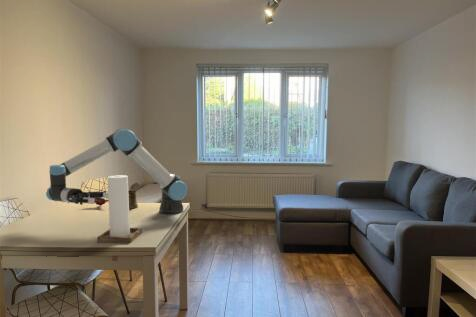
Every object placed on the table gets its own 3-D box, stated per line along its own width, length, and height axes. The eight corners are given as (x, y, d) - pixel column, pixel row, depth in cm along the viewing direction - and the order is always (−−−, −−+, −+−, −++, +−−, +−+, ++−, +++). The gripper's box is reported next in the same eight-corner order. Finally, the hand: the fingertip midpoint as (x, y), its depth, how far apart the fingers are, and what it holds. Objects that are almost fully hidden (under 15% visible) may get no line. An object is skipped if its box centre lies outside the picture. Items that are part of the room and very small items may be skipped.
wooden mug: (130, 211, 236) (129, 183, 234) (121, 207, 246) (120, 181, 244) (143, 208, 242) (142, 181, 240) (133, 205, 252) (133, 179, 250)
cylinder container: (119, 239, 175) (116, 177, 173) (106, 236, 180) (103, 176, 178) (134, 234, 183) (131, 174, 181) (121, 231, 188) (119, 173, 185)
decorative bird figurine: (93, 206, 251) (92, 191, 250) (112, 208, 243) (112, 193, 242) (90, 206, 248) (89, 192, 247) (109, 209, 240) (109, 194, 239)
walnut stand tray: (111, 232, 190) (111, 227, 190) (141, 232, 189) (141, 228, 189) (97, 242, 174) (97, 237, 174) (130, 243, 173) (130, 237, 173)
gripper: (90, 197, 204) (121, 200, 196) (52, 207, 181) (85, 211, 173) (90, 184, 203) (120, 187, 195) (51, 192, 180) (84, 195, 172)
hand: (104, 198), depth 184 cm, fingers open, 13 cm apart
